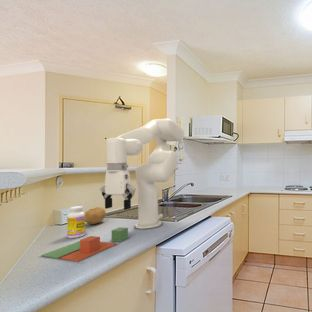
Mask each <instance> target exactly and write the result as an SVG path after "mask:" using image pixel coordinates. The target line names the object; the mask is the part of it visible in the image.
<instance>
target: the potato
mask: <svg viewBox="0 0 312 312" xmlns="http://www.w3.org/2000/svg"><path fill="white" fill-rule="evenodd" d="M84 213H85V224H88V225H96V224H98V223H100V222H102V221H103V220H104V219H105V218H106V216H107V212H106V210H105V208H103V207H100V206H96V207H93V208H90V209H88V210H86V211H85V212H84Z"/></svg>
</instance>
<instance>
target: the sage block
mask: <svg viewBox="0 0 312 312" xmlns="http://www.w3.org/2000/svg"><path fill="white" fill-rule="evenodd" d="M127 239H129V228H128V227H121V226H120V227H117V228H114V229H111V242H116V243H117V242H118V243H119V242H120V243H121V242H123V241H126V240H127Z"/></svg>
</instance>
